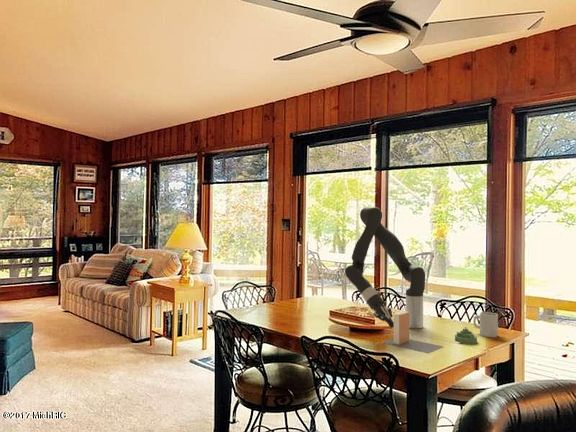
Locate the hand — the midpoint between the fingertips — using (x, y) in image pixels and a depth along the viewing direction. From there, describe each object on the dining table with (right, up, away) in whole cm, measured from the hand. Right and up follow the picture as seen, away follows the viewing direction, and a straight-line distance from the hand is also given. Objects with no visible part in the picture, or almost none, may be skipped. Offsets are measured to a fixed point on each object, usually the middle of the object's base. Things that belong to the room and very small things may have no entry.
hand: (393, 326), depth 223 cm
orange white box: (+3, -7, -3) cm, 8 cm away
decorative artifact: (+35, -8, +1) cm, 36 cm away
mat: (+7, -7, -7) cm, 13 cm away
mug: (+50, -8, +13) cm, 52 cm away
